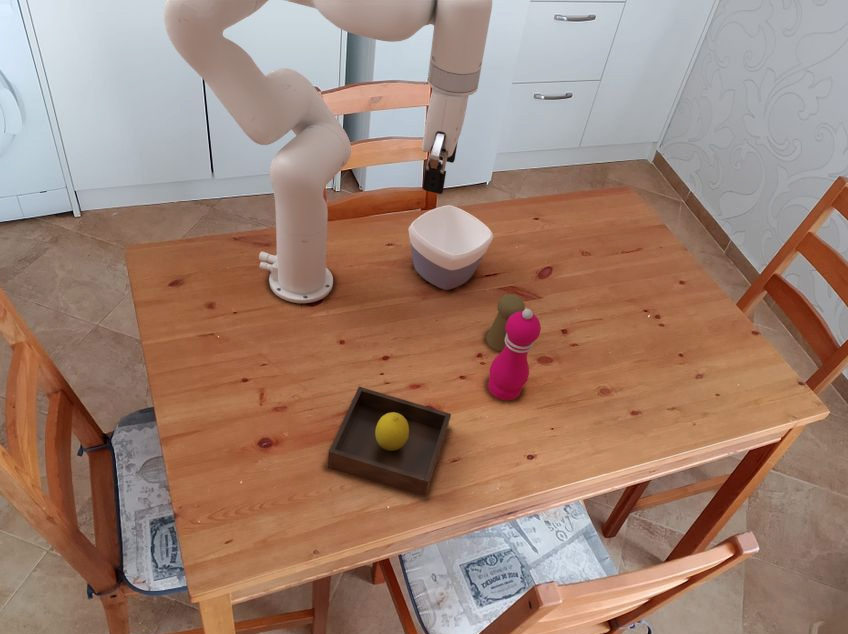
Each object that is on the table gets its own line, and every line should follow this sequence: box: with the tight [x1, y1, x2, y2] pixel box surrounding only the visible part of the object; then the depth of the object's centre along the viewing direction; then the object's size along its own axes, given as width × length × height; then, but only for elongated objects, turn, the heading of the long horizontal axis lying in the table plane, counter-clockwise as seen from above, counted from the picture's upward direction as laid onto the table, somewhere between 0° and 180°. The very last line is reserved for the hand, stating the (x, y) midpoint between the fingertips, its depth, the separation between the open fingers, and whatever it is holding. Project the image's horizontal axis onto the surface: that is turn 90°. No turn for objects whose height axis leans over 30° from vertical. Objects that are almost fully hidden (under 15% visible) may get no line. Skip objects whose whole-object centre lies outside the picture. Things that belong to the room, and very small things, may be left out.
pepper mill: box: [487, 308, 542, 401], centre depth 129 cm, size 7×7×20 cm
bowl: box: [407, 204, 494, 291], centre depth 153 cm, size 15×15×11 cm
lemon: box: [375, 412, 409, 451], centre depth 120 cm, size 6×6×8 cm
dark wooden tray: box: [327, 386, 452, 497], centre depth 121 cm, size 17×15×4 cm
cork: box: [485, 293, 526, 353], centre depth 141 cm, size 6×6×11 cm
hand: (438, 175), depth 119 cm, fingers open, 9 cm apart
